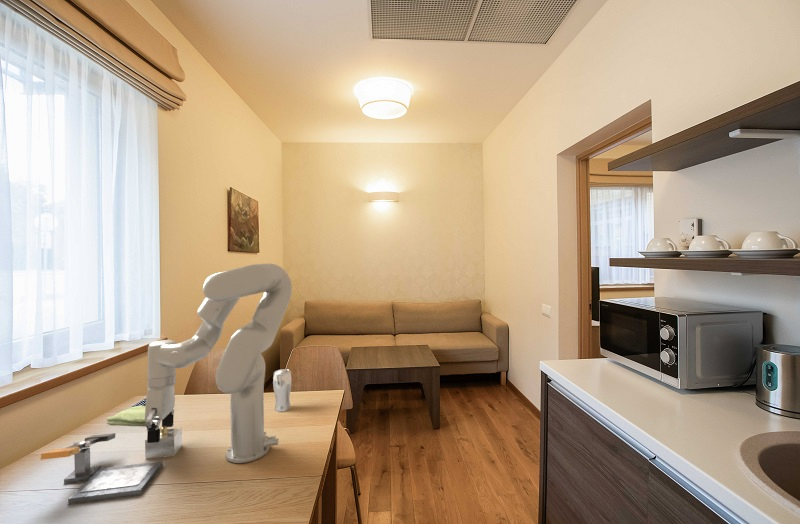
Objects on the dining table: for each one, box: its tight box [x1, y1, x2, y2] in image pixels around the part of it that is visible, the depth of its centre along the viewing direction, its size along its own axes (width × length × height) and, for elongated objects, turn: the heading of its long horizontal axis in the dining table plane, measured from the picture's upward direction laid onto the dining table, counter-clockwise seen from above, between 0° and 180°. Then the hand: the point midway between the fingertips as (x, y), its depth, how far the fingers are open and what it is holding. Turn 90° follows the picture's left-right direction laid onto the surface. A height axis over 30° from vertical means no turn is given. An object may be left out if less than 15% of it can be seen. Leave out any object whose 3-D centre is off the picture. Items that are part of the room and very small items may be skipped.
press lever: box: [40, 432, 116, 461], centre depth 100 cm, size 6×21×2 cm, turn 12°
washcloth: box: [106, 405, 159, 427], centre depth 137 cm, size 13×18×3 cm
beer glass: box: [272, 368, 292, 413], centre depth 143 cm, size 7×7×15 cm
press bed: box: [63, 447, 164, 505], centre depth 97 cm, size 23×15×7 cm, turn 102°
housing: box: [144, 426, 183, 459], centre depth 112 cm, size 8×6×8 cm
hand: (160, 434), depth 112 cm, fingers open, 9 cm apart
